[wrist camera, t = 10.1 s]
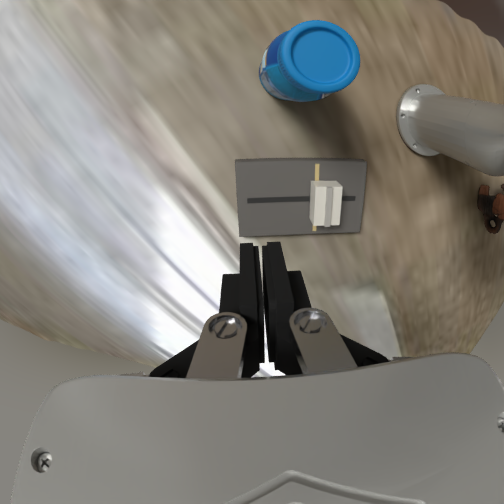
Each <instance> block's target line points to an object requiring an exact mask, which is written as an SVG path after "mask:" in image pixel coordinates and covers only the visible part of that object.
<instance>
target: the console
mask: <svg viewBox="0 0 504 504" xmlns="http://www.w3.org/2000/svg"><path fill="white" fill-rule="evenodd" d="M366 169H367V162H366V161H364V160H363V159H345V158H262V159H238V160H235V171H236V188H237V205H238V221H239V237H246V236H268V235H292V234H318V233H346V232H360V225H361V218H362V209H363V200H364V191H365V181H366ZM311 181H337V182H338V183H339V184H340V185H341V186H342V187H343V188H342V201H341V213H340V223H339V225H330V227H325V226H313V224H312V222H311V220H310V218H309V216H310V192H311Z"/></svg>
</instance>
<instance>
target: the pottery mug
mask: <svg viewBox="0 0 504 504" xmlns="http://www.w3.org/2000/svg"><path fill="white" fill-rule="evenodd" d="M501 188H502V189H504V184H502V186H501ZM478 208H479V209H480V210H481V211H482V212H483V213H484V214H483V215H484V220H485V227H486V229H487V231H488V232H490V233H493V234H496V233H498V232H499V230H500V228H501V224H502V222H503V220H504V195H503V194H501V193H499V194H497V195H496V197H495V196H489V186H487V185H486V186H485V185H481V186H480V190H479V198H478ZM495 215H497V217H496V216H495ZM491 220H494V222H495V224H496V226H495V227H492V226H491V224H490V221H491Z"/></svg>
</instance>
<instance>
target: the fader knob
mask: <svg viewBox="0 0 504 504" xmlns="http://www.w3.org/2000/svg"><path fill="white" fill-rule="evenodd" d="M342 188H343V187H342V186H341V185H340V184H339V183H338V182H337V181H311V192H310V216H309V218H310V220H311V222H312V224H313V226H325V227H330V225H339V223H340V213H341V201H342Z"/></svg>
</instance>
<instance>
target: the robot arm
mask: <svg viewBox="0 0 504 504" xmlns="http://www.w3.org/2000/svg"><path fill="white" fill-rule="evenodd" d="M401 114H402V116H401ZM397 125H398V130H399V132H400V135H401V137H402V139H403V140H404V142H405V143H406V145H407V146H408V147H409V148H410V149H412V150H413V151H415V152H417V153H419V154H421V155H424V156H435V155H437V154H440V153H441V154H444V155H446V156H449V157H451V158H453V159H455V160H458V161H460V162H462V163H464V164H466V165H468V166H471V167H473V168H475V169H477V170H479V171H481V172H483V173H485V174H488V175H491V176H504V105H503V104H497V103H492V102H487V101H481V100H475V99H469V98H463V97H456V96H448V95H445V94H444V93H443V92H442V91H441V90H440V89H438V88H437V87H434V86H432V85H427V84H419V85H414V86H412V87H410V88H409V89H408V90H407V91H405V93H404V94H403V95H402V97H401V99H400V101H399V104H398V108H397ZM262 263H263V291H262V280H261V270H260V260H259V249H258V246H253V243H240V274H223V277H222V287H221V298H220V309H219V313H218V314H215V315H213V316H211V317H210V318H209V319H208V320H207V321H206V323H205V324H204V327H203V330H202V333H201V336H200V339H199V340H198V341H196V342H195V343H193V344H192V345H190V346H189V347H187V348H186V349H184V350H183V351H181V352H180V353H178V354H177V355H175V356H174V357H172V358H170V359H169V360H167V361H166V362H164V363H163V364H161V365H160V366H158V367H157V368H155V369H154V370H153V371H152V372H151V373H150V374H148V375H145V374H144V373H143V372H139V373H131V374H122V375H93V376H83V377H78V378H74V379H70V380H67V381H64V382H62V383H59V384H58V385H56V386H55V387H54V388H53V389H52V390H51V391H50V392H49V393H48V395H47V396H46V397H45V399H44V400H43V402H42V404H41V406H40V408H39V410H38V412H37V414H36V416H35V418H34V420H33V423H32V426H31V428H30V431H29V433H28V436H27V439H26V442H25V445H24V448H23V452H22V455H21V458H20V462H19V466H18V469H17V473H16V477H15V482H14V487H13V492H12V498H11V504H504V385H503V383H502V382H501V380H500V379H499V377H498V376H497V374H496V373H495V371H494V370H493V369H492V368H491V367H490V365H489V364H488V363H487V362H486V361H484V360H483V359H482V358H480V357H478V356H475V355H471V354H466V353H457V352H451V353H437V354H429V355H424V356H418V357H392V359H391V360H388V359H387V358H386V357H385V356H383V355H381V354H380V353H377V352H375V351H373V350H371V349H369V348H367V347H365V346H363V345H361V344H359V343H357V342H355V341H353V340H351V339H349V338H347V337H345V336H343V335H341V334H339V332H338V330H337V329H336V327H335V325H334V323H333V321H332V320H331V318H330V317H329V315H328V314H327V313H325V312H324V311H322V310H319V309H316V308H311V304H310V301H309V297H308V294H307V290H306V287H305V284H304V280H303V277H302V273H301V271H287V269H286V265H285V260H284V256H283V252H282V248H281V243H280V242H267V246H262ZM264 314H265V325H266V336H267V347H268V358H269V362H274V365H275V370H279V371H281V372H282V373H284V374H285V376H271V377H253V378H251V377H252V376H253V375H254V374H255V373H257V372H258V371H259V370H260V368H259V363H265V354H264Z"/></svg>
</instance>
